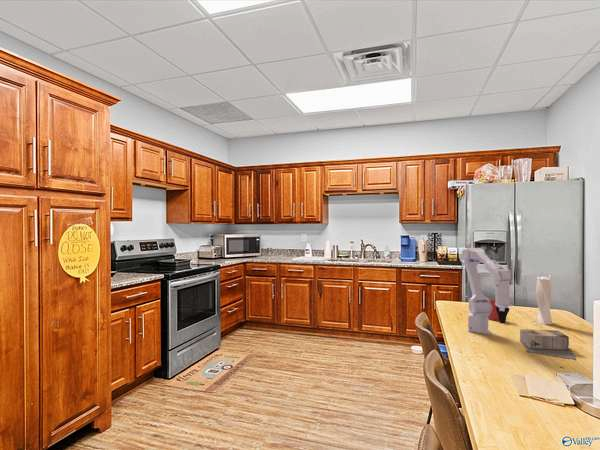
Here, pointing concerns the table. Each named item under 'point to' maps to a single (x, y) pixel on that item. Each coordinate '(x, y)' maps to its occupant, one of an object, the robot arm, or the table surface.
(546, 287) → the skyscraper
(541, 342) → the coffee box
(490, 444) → the table surface
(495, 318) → the beer can
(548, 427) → the table surface
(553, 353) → the mat
